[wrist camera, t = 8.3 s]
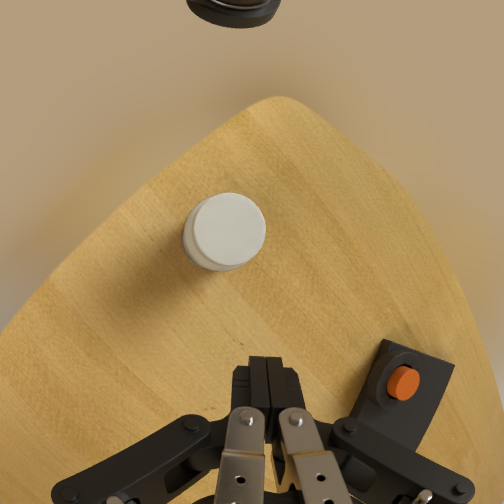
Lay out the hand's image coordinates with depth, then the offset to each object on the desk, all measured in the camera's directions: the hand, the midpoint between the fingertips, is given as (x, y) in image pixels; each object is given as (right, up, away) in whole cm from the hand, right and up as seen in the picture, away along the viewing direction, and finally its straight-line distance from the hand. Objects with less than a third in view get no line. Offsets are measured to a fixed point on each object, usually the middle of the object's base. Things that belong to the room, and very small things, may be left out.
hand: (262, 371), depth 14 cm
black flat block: (+15, -13, +15) cm, 25 cm away
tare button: (+14, -7, +12) cm, 20 cm away
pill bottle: (-4, +7, +11) cm, 13 cm away
